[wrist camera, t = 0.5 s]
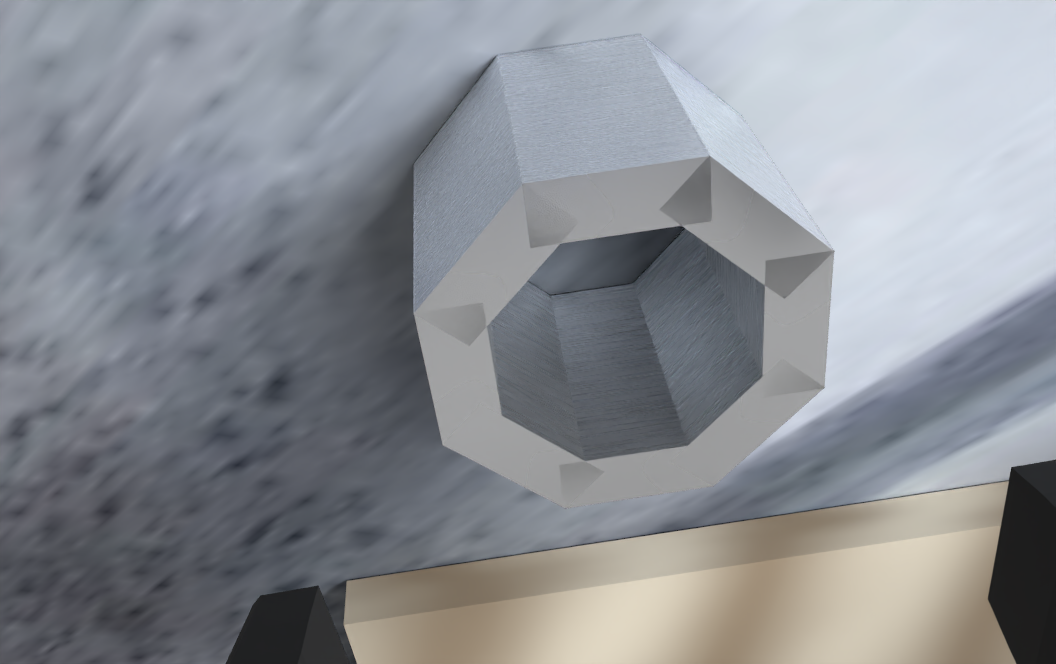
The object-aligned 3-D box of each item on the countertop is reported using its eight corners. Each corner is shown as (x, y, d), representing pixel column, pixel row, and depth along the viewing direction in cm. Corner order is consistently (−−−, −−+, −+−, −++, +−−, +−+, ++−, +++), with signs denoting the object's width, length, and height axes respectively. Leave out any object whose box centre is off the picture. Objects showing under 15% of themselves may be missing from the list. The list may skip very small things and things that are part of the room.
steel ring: (743, 18, 16) (842, 135, 12) (740, 308, 19) (818, 470, 15) (395, 69, 16) (389, 202, 12) (450, 351, 19) (459, 524, 15)
